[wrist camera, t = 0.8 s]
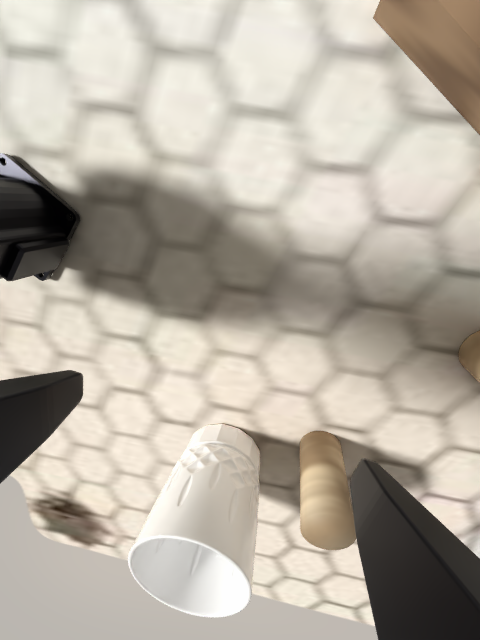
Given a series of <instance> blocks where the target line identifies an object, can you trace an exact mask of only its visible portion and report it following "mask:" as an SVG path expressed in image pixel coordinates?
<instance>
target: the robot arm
mask: <svg viewBox="0 0 480 640" xmlns="http://www.w3.org/2000/svg"><path fill="white" fill-rule="evenodd" d="M5 160H6V162H7V163H5ZM70 215H72V217H73V220H72V219H71V218H70ZM79 221H80V216H79V214H78V213H77V212H76V211H75V210H74V209H73V208H72V207H71V206H69V205H68V204H67V203H66V202H65V201H63V200H62V199H61V198H60V197H59V196H58V195H56V194H55V193H54V192H53V191H52V190H50V189H49V188H48V187H47V186H46V185H45V184H43V183H42V182H41V181H40V180H39V179H37V178H36V177H35V176H34V175H33V174H32V173H30V172H29V171H28V170H27V169H26V168H24V167H23V166H22V165H21V164H20V163H19V162H17V161H16V160H15V159H14V158H13V157H11V156H10V155H8V154H2V153H0V279H1V278H4V279H5V280H7V281H14V280H18V279H22V278H25V277H29V276H32V275H34V276H35V277H37V278H38V279H39V280H42V281H44V280H47V279H49V278H50V277H51V275H52V273H53V271H54V269H57V268H58V266H59V264H60V262H61V260H62V258H63V256H64V254H65V252H66V251H67V249H68V247H69V240H70V239H71V237H72V235H73V233H74V231H75V229H76V227H77V225H78V223H79ZM42 273H43V274H44V275H43V274H42ZM82 396H83V375H82V374H81V373H79V372H76V371H72V370H66V371H60V372H53V373H47V374H40V375H34V376H27V377H21V378H14V379H8V380H1V381H0V483H1V482H2V481H3V480H5V478H7V477H8V476H9V475H10V474H11V473H12V472H13V471H14V470H15V469H16V468H17V467H18V466H19V465H20V464H21V463H22V462H24V461H25V460H26V459H27V458H28V457H29V456H30V455H31V454H32V453H33V452H34V451H35V450H36V449H37V448H38V447H39V446H40V445H41V444H43V443H44V442H45V441H46V440H47V439H48V438H49V437H50V436H51V434H52V433H53V432H54V431H55V430H56V429H57V428H58V427H59V425H60V424H61V423H62V422H63V421H64V420H65V418H66V417H67V416H68V415H69V414H70V413H71V411H72V410H73V409H74V408H75V407H76V406H77V405H78V403H79V402H80V401H81V399H82ZM350 488H351V497H352V507H353V516H354V525H355V533H356V538H357V544H358V548H359V553H360V557H361V562H362V567H363V571H364V576H365V580H366V585H367V590H368V594H369V599H370V604H371V608H372V613H373V617H374V622H375V627H376V631H377V635H378V640H480V559H479V558H478V557H477V556H476V555H475V554H474V553H473V552H472V551H471V550H470V549H469V548H468V547H467V546H466V545H464V544H463V543H462V542H461V541H460V540H459V539H458V538H457V537H456V536H455V535H454V534H453V533H452V532H451V531H449V530H448V529H447V528H446V527H445V526H444V525H443V524H442V523H441V522H440V521H439V520H438V519H437V518H436V517H435V516H433V515H432V514H431V513H430V512H429V511H428V510H427V509H426V508H425V507H424V506H423V505H422V504H421V503H420V502H418V501H417V500H416V499H415V498H414V497H413V496H412V495H411V494H410V493H409V492H408V491H407V490H406V489H405V488H403V487H402V486H401V485H400V484H399V483H398V482H397V481H396V480H395V479H394V478H393V477H392V476H391V475H390V474H388V473H387V472H386V471H385V470H384V469H383V468H382V467H381V466H380V465H379V464H378V463H376V462H375V461H371V460H368V459H362V460H361V461H360V462H359V464H358V466H357V467H356V469H355V471H354V473H353V475H352V477H351V481H350Z"/></svg>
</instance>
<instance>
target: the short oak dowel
mask: <svg viewBox="0 0 480 640" xmlns="http://www.w3.org/2000/svg"><path fill="white" fill-rule="evenodd" d="M300 529H301V533H302V535H303V537H304V538H305V539H306V540H307V541H308V542H309V543H311V544H312V545H314V546H316V547H319V548H322V549H327V550H340V549H344V548H347V547H349V546H350V545H352V544H353V543H354V541H355V540H356V533H355V525H354V516H353V510H352V505H351V499H350V493H349V488H348V482H347V477H346V471H345V466H344V460H343V454H342V449H341V444H340V442H339V440H338V439H337V438H336V437H335V436H334V435H332V434H330V433H328V432H324V431H314V432H310V433H308V434H306V435H305V436H304V437H303V438H302V439H301V441H300Z"/></svg>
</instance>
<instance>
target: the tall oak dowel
mask: <svg viewBox="0 0 480 640" xmlns="http://www.w3.org/2000/svg"><path fill="white" fill-rule="evenodd" d="M458 355H459V361H460V363H461V364H462V366H463V367H464V368H465V369H466V370H467V371H468V372H469V373H470V374H471V375H472V376H473V377H474V378H475V379H476V380H477V381H478V382H479V383H480V331H477V332H475V333H474V334H472V335H470V336H469V337H468V338H467V339H466V340H465V341H464V342H463V343H462V345H461V347H460V349H459V354H458Z"/></svg>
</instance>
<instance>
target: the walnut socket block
mask: <svg viewBox="0 0 480 640" xmlns="http://www.w3.org/2000/svg"><path fill="white" fill-rule="evenodd" d="M373 19H374V20H375V21H376V22H377V23H378V24H379V25H380V26H381V27H382V28H383V29H384V31H385V32H386V33H387V34H388V35H389V36H390V37H391V38H392V39H393V40H394V42H395V43H396V44H397V45H398V46H399V47H400V48H401V49H402V50H403V51H404V53H405V54H406V55H407V56H408V57H409V58H410V59H411V60H412V61H413V62H414V63H415V65H416V66H417V67H418V68H419V69H420V70H421V71H422V72H423V73H424V74H425V76H426V77H427V78H428V79H429V80H430V81H431V82H432V83H433V84H434V85H435V87H436V88H437V89H438V90H439V91H440V92H441V93H442V94H443V95H444V96H445V97H446V99H447V100H448V101H449V102H450V103H451V104H452V105H453V106H454V107H455V108H456V110H457V111H458V112H459V113H460V114H461V115H462V116H463V117H464V118H465V119H466V120H467V122H468V123H469V124H470V125H471V126H472V127H473V128H474V129H475V130H476V131H477V133H478V134H479V135H480V0H380V2H379V5H378V7H377V10H376V12H375V14H374V17H373Z"/></svg>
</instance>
